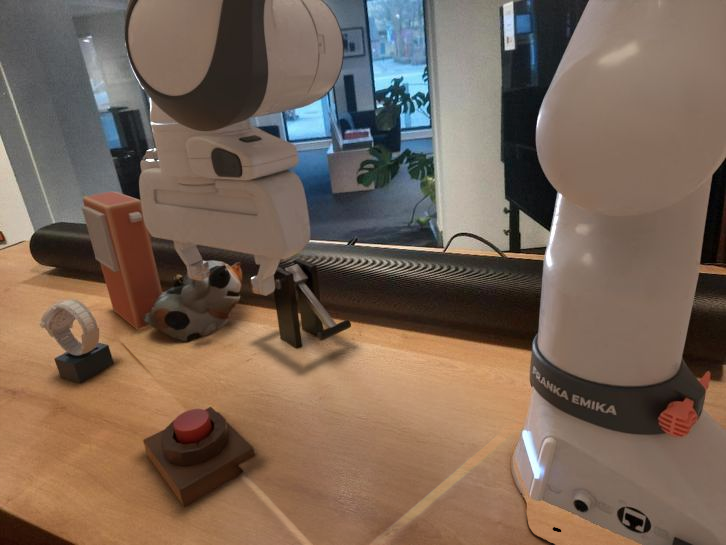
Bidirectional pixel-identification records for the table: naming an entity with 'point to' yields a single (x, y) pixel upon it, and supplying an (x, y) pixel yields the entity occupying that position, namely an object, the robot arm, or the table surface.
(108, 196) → the control panel
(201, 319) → the lucky cat figurine
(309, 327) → the bracket
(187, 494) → the button box
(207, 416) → the button
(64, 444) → the table surface
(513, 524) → the table surface
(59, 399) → the table surface
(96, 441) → the table surface
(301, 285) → the lever
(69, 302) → the watch
